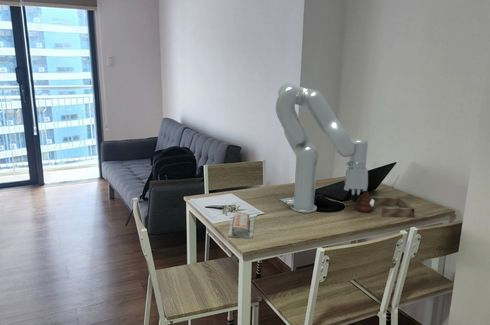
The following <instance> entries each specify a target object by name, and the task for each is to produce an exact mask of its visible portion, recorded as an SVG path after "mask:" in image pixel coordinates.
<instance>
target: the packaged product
mask: <svg viewBox="0 0 490 325" xmlns="http://www.w3.org/2000/svg"><path fill="white" fill-rule="evenodd" d="M229 224H230V225H229V229H228V234H227V237H228V238H230V239H231V238H232V239H233V238H234V239H253V238H254V224H255V219H254V218H250V214H248V213H246V212H243V213H238V214H234V215H233V218H231V220H230V223H229Z"/></svg>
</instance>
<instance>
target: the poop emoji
mask: <svg viewBox="0 0 490 325" xmlns="http://www.w3.org/2000/svg"><path fill="white" fill-rule="evenodd" d="M374 203H375V201H374V200H373V199H372V197H370V193H369V192H368V190H366V191H363V193H362V194H361V195H360V197H358V201H357V203H355V206H354V207H355V209H356V211H358V212H359V213H364V214H367V213H372V212H373V210H374V207H375V205H374Z"/></svg>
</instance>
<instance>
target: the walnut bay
mask: <svg viewBox="0 0 490 325" xmlns="http://www.w3.org/2000/svg"><path fill="white" fill-rule="evenodd" d="M371 199H373V200H374V201H375V203H374V206H381V214H380V216H381V217H387V218H388V217H389V218H412V219H413V218H414V215H415V208H414V207H412V205H411V204H409V203H408V202H407V201H406V200H405V199H404V198H402V197H398V196H397V197H396V196H395V197H393V196H391V197H390V196H372V197H371Z"/></svg>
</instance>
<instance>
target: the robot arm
mask: <svg viewBox="0 0 490 325" xmlns="http://www.w3.org/2000/svg"><path fill="white" fill-rule="evenodd" d="M277 92H278V93H277V94H278V97H277V99H276V102H275V114H276V116H277V118H278V121H279V123H280V125H281V127H282V128H283V133H284V136H285V139H286V140H287V141H288V144H289V146H290V147H291V149H292V151H293V154H294V155H295V156H296V166H295V175H294V176H295V178H294V194H293V197H292V198H291V199H287V198H285V199H284V200H283V202H284V204H287V205H290V209H291V210H292V211H295V212H297V213H298V212H299V213H303V214H304V213H305V214H307V213H314V212H316V211H317V209H318V207H317V205H315V194H316V180H317V167H318V162H319V152H318V150H317V148H316V146H315V145H314V144H313V143H312V142H311V140H310V138H309V136H308V135H307V129H306V127H305V126H304V124H303V123H302V122H301V119H300V117H299V115H298V112H297V111H296V105H297V106H300V107H301V106H302V107H306V108H307V109H308V111H309V112H310V114H311V115H312V117H313V119H314V120H315V122H316V123H317V125H318V127H319V128H320V129H321V130H322V132H324V133H325V135H326V136H327V137H328V139H329V140H330V141H331V142H332V148H333V150H334V151H335V152H336V153H337V154H339V155H340V156H341V157H343V158H348V157H349V161H348V162H345V164H346V165H345V166H347V169H346V173H345V175H344V187H343V190H344V191H348V192H349V193H350V194H351V196H350V200H351V202H352V203H353V204H354V203H355V204H356V203H357V202H358V199H359V195H360V194H361V193H362V192H365V191H368V186H369V170H368V168H367V157H368V155H367V154H368V145H369V143H368V140H367V139H364V138H350V136H349V134H348V133H347V131H346V130H345V128H344V127H343V125H342V124H341V123H340V121H339V119H338V118H337V117H336V115H335V113H334V112H333V111H332V109H331V107H330V106H329V104H328V102H327V101H326V98H325V97H324V96H323V94H322V93H321V92H320V91H318V90H316V89H312V88H307V87H302V86H300V85H298V86H297V85H294V84H291V83H284V84H282V85H281V86H280V87H279V89H278V91H277Z"/></svg>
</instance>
